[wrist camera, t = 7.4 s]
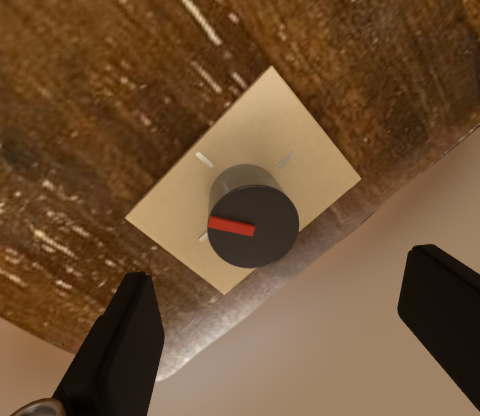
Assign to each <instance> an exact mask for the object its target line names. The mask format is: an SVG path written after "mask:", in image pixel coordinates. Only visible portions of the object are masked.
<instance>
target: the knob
mask: <svg viewBox="0 0 480 416" xmlns="http://www.w3.org/2000/svg"><path fill="white" fill-rule="evenodd" d="M298 232H299V216H298V212H297V209H296V207H295V205H294V204H293V202H292V201H291V199H290V198H289V197H288V196H287V194H286V193H285V192H284V191H283V189H282V188H281V187H280V185H279V184H278V183H277V182H276V180H275V179H274V178H273V177H272V175H271V174H270V173H269V172H267V171H266V170H265V169H263V168H261V167H259V166H256V165H251V164H240V165H236V166H233V167H230V168H228V169H226V170H225V171H223V172H222V173H221V174H220V175H219V176H218V177H217V178H216V180H215V181H214V183H213V185H212V187H211V190H210V195H209V207H208V221H207V234H208V239H209V242H210V244H211V247H212V248H213V250H214V251H215V253H216V254H217V255H218V256H219V257H220V258H221V259H223V260H224V261H226V262H227V263H229V264H231V265H234V266H236V267H240V268H247V269H254V268H261V267H265V266H268V265H271V264H273V263H275V262H277V261H278V260H280V259H281V258H282V257H284V256H285V255H286V254H287V253H288V252H289V251H290V249H291V248H292V246H293V245H294V243H295V241H296V239H297V236H298Z"/></svg>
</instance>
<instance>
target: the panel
mask: <svg viewBox="0 0 480 416" xmlns="http://www.w3.org/2000/svg"><path fill="white" fill-rule="evenodd" d="M240 164H251V165H256V166H259V167H261V168H263V169H265V170H266V171H267V172H269V173H270V174H271V175H272V177H273V178H274V179H275V180H276V182H277V183H278V184H279V185H280V187H281V188H282V189H283V191H284V192H285V193H286V194H287V196H288V197H289V198H290V199H291V201H292V202H293V204H294V205H295V207H296V209H297V212H298V216H299V231H301V230H302V229H303V228H304V227H305V226H307V225H308V224H309V223H310V222H311V221H312V220H314V219H315V218H316V217H317V216H318V215H319V214H321V213H322V212H323V211H324V210H325V209H327V208H328V207H329V206H330V205H331V204H332V203H334V202H335V201H336V200H337V199H338V198H340V197H341V196H342V195H343V194H344V193H345V192H347V191H348V190H349V189H350V188H351V187H353V186H354V185H355V184H356V183H357V182H358V181H360V180H361V177H360V176H359V175H358V174H357V172H356V171H355V170H354V169H353V167H352V166H351V165H350V163H349V162H348V161H347V160H346V158H345V157H344V156H343V155H342V153H341V152H340V151H339V150H338V148H337V147H336V146H335V144H334V143H333V142H332V141H331V139H330V138H329V137H328V136H327V134H326V133H325V132H324V131H323V129H322V128H321V127H320V125H319V124H318V123H317V122H316V120H315V119H314V118H313V117H312V115H311V114H310V113H309V111H308V110H307V109H306V108H305V106H304V105H303V104H302V103H301V101H300V100H299V99H298V98H297V96H296V95H295V94H294V92H293V91H292V90H291V89H290V87H289V86H288V85H287V84H286V82H285V81H284V80H283V79H282V77H281V76H280V75H279V73H278V72H277V71H276V70H275V68H274V67H273V66H270V67H268V68H267V69H266V70H264V71H263V72H262V73H261V74H260V75H259V76H258V77H257V78H256V79H255V80H254V81H253V82H252V83H251V84H250V85H249V86H248V87H247V88H246V89H245V90H244V92H243V93H242V94H241V95H240V96H239V97H238V98H237V99H236V100H235V101H234V102H233V103H232V104H231V105H230V106H229V107H228V108H227V109H226V110H225V111H224V112H223V113H222V114H221V115H220V117H219V118H218V119H217V120H216V121H215V122H214V123H213V124H212V125H211V126H210V127H209V128H208V129H207V130H206V131H205V132H204V133H203V134H202V135H201V136H200V137H199V138H198V139H197V141H196V142H195V143H194V144H193V145H192V146H191V147H190V148H189V149H188V150H187V151H186V152H185V153H184V154H183V155H182V156H181V157H180V158H179V159H178V160H177V161H176V162H175V163H174V164H173V166H172V167H171V168H170V169H169V170H168V171H167V172H166V173H165V174H164V175H163V176H162V177H161V178H160V179H159V180H158V181H157V182H156V183H155V184H154V185H153V186H152V187H151V188H150V190H149V191H148V192H147V193H146V194H145V195H144V196H143V197H142V198H141V199H140V200H139V201H138V202H137V203H136V204H135V206H134V207H133V208H132V209H131V211H130V212H129V213H128V214H127V216H126V217H125V219H127V220H128V221H129V222H130V223H132V224H133V225H134V226H136V227H137V228H138V229H140V230H141V231H142V232H143V233H145V234H146V235H147V236H149V237H150V238H151V239H153V240H154V241H155V242H156V243H158V244H159V245H160V246H162V247H163V248H164V249H166V250H167V251H168V252H169V253H171V254H172V255H173V256H175V257H176V258H177V259H179V260H180V261H181V262H182V263H184V264H185V265H186V266H188V267H189V268H190V269H192V270H193V271H194V272H195V273H197V274H198V275H199V276H201V277H202V278H203V279H205V280H206V281H207V282H208V283H210V284H211V285H212V286H214V287H215V288H216V289H218V290H219V291H220V292H221V293H223V294H224V295H225V294H226V293H227V292H229V291H230V290H231V289H232V288H233V287H235V286H236V285H237V284H238V283H239V282H240V281H242V280H243V279H244V278H245V277H246V276H248V275H249V274H250V273H251V272H252V271H253V270H255V269H256V268H254V269H247V268H240V267H236V266H234V265H231V264H229V263H227V262H226V261H224V260H223V259H221V258H220V257H219V256H218V255H217V254H216V253H215V251H214V250H213V248H212V247H211V244H210V242H209V239H208V234H207V221H208V207H209V195H210V190H211V187H212V185H213V183H214V181H215V180H216V178H217V177H218V176H219V175H220V174H221V173H222V172H223V171H225V170H226V169H228V168H230V167H233V166H236V165H240Z"/></svg>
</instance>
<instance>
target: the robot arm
mask: <svg viewBox="0 0 480 416" xmlns="http://www.w3.org/2000/svg"><path fill="white" fill-rule="evenodd" d="M397 310H398V314H399V316H400V318H401V319H402V321H403V322H404V323H405V324H406V325H407V326H408V327H409V329H410V330H411V331H412V332H413V334H414V335H415V336H416V337H417V338H418V339H419V341H420V342H421V343H422V344H423V345H424V346H425V348H426V349H427V350H428V351H429V352H430V354H431V355H432V356H433V357H434V358H435V360H436V361H437V362H438V363H439V364H440V365H441V367H442V368H443V369H444V370H445V371H446V373H447V374H448V375H449V376H450V377H451V379H453V381H454V382H455V383H456V384H457V386H458V387H459V388H460V389H461V390H462V392H463V393H464V394H465V395H466V396H467V397H468V399H469V400H470V401H471V402H472V403H473V405H474V406H475V407H476V408H477V409H478V410H479V411H480V274H478V273H477V272H475V271H474V270H472V269H471V268H469V267H468V266H466V265H464V264H463V263H461V262H460V261H458V260H457V259H455V258H454V257H452V256H451V255H449V254H447V253H446V252H445V251H443V250H442V249H440V248H438V247H437V246H435V245H433V244H427V245H418V246H414V247H413V248H412V250H410V251H409V253H408V256H407V261H406V266H405V271H404V276H403V282H402V287H401V292H400V297H399V302H398V308H397ZM163 345H164V329H163V325H162V321H161V316H160V312H159V307H158V303H157V299H156V294H155V290H154V285H153V281H152V277H151V275H146V273H145V272H144V271H142V272H132V273H127V274H126V275H125V277H124V279H123V280H122V282H121V284H120V286H119V287H118V289H117V291H116V293H115V295H114V296H113V298H112V300H111V302H110V304H109V305H108V307H107V309H106V311H105V312H104V314H103V315H101V316H99V317H98V319H97V320H96V321H95V323H94V325H93V327H92V328H91V330H90V332H89V334H88V335H87V337H86V339H85V340H84V342H83V344H82V346H81V347H80V349H79V351H78V353H77V354H76V356H75V358H74V359H73V361H72V363H71V365H70V366H69V368H68V370H67V372H66V373H65V375H64V377H63V379H62V380H61V382H60V384H59V385H58V387H57V389H56V391H55V392H54V394H53V396H52V397H51V398H43V399H40V400H37V401H33V402H31V403H29V404H27V405H25V406H24V407H21V408H20V409H18V410H17V411H16V412H14V413H13V414H12V415H10V416H147V412H148V408H149V404H150V400H151V396H152V392H153V387H154V383H155V379H156V375H157V371H158V366H159V362H160V358H161V354H162V350H163Z"/></svg>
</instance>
